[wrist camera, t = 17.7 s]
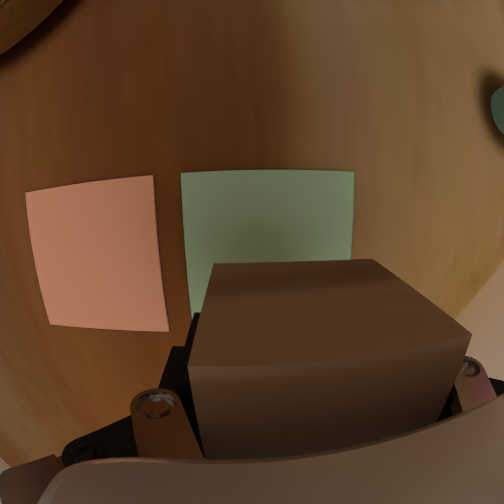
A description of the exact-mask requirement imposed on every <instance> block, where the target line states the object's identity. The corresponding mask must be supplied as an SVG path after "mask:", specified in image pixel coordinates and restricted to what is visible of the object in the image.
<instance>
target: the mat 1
mask: <svg viewBox="0 0 504 504" xmlns="http://www.w3.org/2000/svg"><path fill="white" fill-rule="evenodd" d="M26 204H27V214H28V222H29V230H30V237H31V243H32V249H33V255H34V260H35V265H36V270H37V275H38V279H39V284H40V288H41V292H42V296H43V300H44V304H45V307H46V311H47V315H48V318H49V321H50V324H54V325H63V326H74V327H86V328H99V329H115V330H134V331H165V332H169V330H170V328H169V322H168V315H167V309H166V302H165V294H164V287H163V279H162V270H161V261H160V252H159V241H158V230H157V217H156V203H155V185H154V175H149V176H138V177H128V178H119V179H110V180H102V181H94V182H87V183H80V184H73V185H67V186H60V187H54V188H48V189H43V190H37V191H32V192H26Z"/></svg>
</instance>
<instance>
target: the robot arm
mask: <svg viewBox="0 0 504 504" xmlns="http://www.w3.org/2000/svg"><path fill="white" fill-rule="evenodd" d="M200 313H201V312H195V313H194V315H193V319H192V322H191V325H190V329H189V332H188V336H187V339H186V343H185V346H173V347H172V349H171V352H170V355H169V358H168V360H167V363H166V366H165V369H164V372H163V375H162V378H161V381H160V384H159V387H158V388H154V389H149V390H145V391H143V392H141V393H139V394H137V395H136V396H135V397H134V398H133V400H132V402H131V404H130V411H131V415H130V416H128V417H126V418H124V419H121V420H119V421H117V422H115V423H113V424H110V425H108V426H106V427H104V428H101V429H99V430H97V431H94V432H92V433H90V434H87V435H85V436H82V437H80V438H77V439H75V440H73V441H72V442H70V443H69V444H68V445H67V446H66V447H65V448H64V450H63V452H62V456H59V457H56V456H55V455H54V454H53V455H50V456H47V457H44V458H41V459H38V460H35V461H32V462H29V463H26V464H23V465H19V466H16V467H13V468H9V469H7V470H5V471H3V472H2V473H1V474H0V499H1V502H2V504H504V381H501V380H497V379H492V378H488V376H487V374H486V372H485V370H484V368H483V366H482V364H481V363H480V362H479V361H477V360H476V359H474V358H471V357H468V356H465V357H464V359H463V362H462V365H461V367H460V370H459V372H458V375H457V377H456V380H455V382H454V384H453V387H452V389H451V391H450V394H449V396H448V398H447V400H446V402H445V404H444V407H443V409H442V411H441V413H440V415H439V417H438V419H437V421H436V423H433V424H430V425H428V426H425V427H422V428H419V429H416V430H412V431H409V432H406V433H403V434H399V435H396V436H392V437H389V438H385V439H381V440H377V441H373V442H369V443H365V444H360V445H355V446H351V447H346V448H340V449H335V450H329V451H323V452H317V453H310V454H302V455H294V456H284V457H273V458H258V459H231V460H205V459H204V458H205V455H204V450H203V446H202V441H201V437H200V432H199V427H198V422H197V417H196V412H195V407H194V401H193V396H192V390H191V385H190V379H189V373H188V362H189V358H190V353H191V349H192V345H193V341H194V337H195V333H196V329H197V325H198V321H199V317H200Z"/></svg>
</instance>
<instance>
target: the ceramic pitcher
mask: <svg viewBox="0 0 504 504" xmlns="http://www.w3.org/2000/svg"><path fill="white" fill-rule="evenodd" d="M62 1H63V0H0V55H1V54H3V53H5V52H6V51H8V50H9V49H10V48H11V47H13V46H14V45H15V44H16V43H18V42H19V41H20V40H21V39H22V38H24V37H25V36H26V35H27V34H28V33H30V32H31V31H32V30H33V29H34V28H35V27H36V26H38V25H39V24H40V23H41V22H42V21H43V20H44V19H46V18H47V17H48V16H49V15H50V14H51V13H52V12H53V11H54V9H55V8H56V7H57V6H58V5H59V4H60V3H61V2H62Z"/></svg>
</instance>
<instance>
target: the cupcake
mask: <svg viewBox="0 0 504 504" xmlns="http://www.w3.org/2000/svg"><path fill="white" fill-rule="evenodd" d="M490 105H491V113H492V116H493V119H494V122H495V124H496V126H497V128H498V129H499V130H500V132H501V133H502V134H504V83H503V86H502V87H501V88H499V89H498V90H497V91H495V92H494V93H493V94H492V97H491V103H490Z"/></svg>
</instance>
